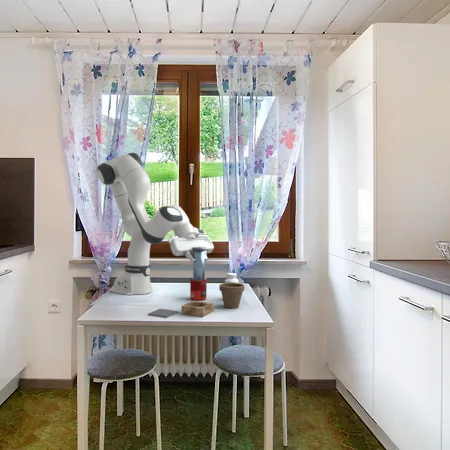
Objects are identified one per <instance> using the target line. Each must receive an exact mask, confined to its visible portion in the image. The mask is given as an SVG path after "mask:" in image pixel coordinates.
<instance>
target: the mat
mask: <svg viewBox="0 0 450 450" xmlns="http://www.w3.org/2000/svg"><path fill="white" fill-rule="evenodd" d="M178 313H179V310H172V309H167V308H166V309H165V308H158V309H156V310H153V311H151V312H149V313H148V314H147V315H148V316H153V317H158V316H159V318H168V319H169V318H170V317H171V316H173V315H175V314H176V315H177V314H178Z"/></svg>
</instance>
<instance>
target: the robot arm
mask: <svg viewBox="0 0 450 450" xmlns="http://www.w3.org/2000/svg"><path fill="white" fill-rule="evenodd" d="M96 173H97V174H96V175H97V177H98V179H99V181H100V182H101V183H102V184H103V185H105V186H109V187H110V189H111V193H112V195H113V198H114V200H115V202H116V204H117V207H118V210H119V212H120V217H121V221H122V225H123V231H124V232H125V233H126V234H127V235H128V236H129V237H131V239H130V242H129V247H128V249H127V264H126V265H123V266H122V267H123V269H125V270H124V271H123V273H122V274H120V275H119V276H117V277H116V278H115V279H114V283H113V287H110V288H109V289H108V291H109V292H112V293H116V294H121V295H125V296H131V295H145V294H150V293H152V292H153V288H152V283H151V277H150V276H151V264H150V262H151V261H150V251H151V245H159V244H160V243H162V242H163V240H164V239H165V237H166V236H167V235H168V234H169V233H170V232H171V231H173V234H174V236H173V235H172V236H169V237H168V238H167V241H168V243H169V247H170V250H171V252H172V255H173V256H176V257H181V256H185V257H186V258H187V259H188V260H189V261H190V262H191V263H193V262H195V261H196V259H195V257H193V249H192V247H206V250H205V262H206V261H208V256H207V254H210V253H211V254H212V252H213V250H214V249H215V246H214V244H213V242H212V240H211V238H210V237H209V236H208V235H207V232H206V230H204V229H200V228H197V227H195V226H193V224H191V222H190V219H189V217H188V214H186V212H185V211H184V210H183V208H182V207H181V206H180V205H178V204H171V205H169V206H165V205H163V206H161V207H160V208H159V209H158V210H157V211H156V212H155V213H154V214H153V216H152V217H151V218H150V216H149V215H148V212H147V210H146V208H145V207H146V206H145V202H146V198H147V195H148V192H149V190H150V188H151V179H150V176H149V174H148V173H147V172H146V170H145V169H144V167H143V162H142V159H141V157H140V156H139V154H138V153H136V152H128V153H127V154H123V155H119V156H116V157H114V158H112V159H109V160H108V161H106V162H102V163H101V164H98V165H97V168H96Z"/></svg>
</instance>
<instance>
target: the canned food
mask: <svg viewBox="0 0 450 450" xmlns="http://www.w3.org/2000/svg"><path fill="white" fill-rule="evenodd" d="M189 280H190V285H189V286H190V287H189V293H190V294H189V298H190V300H191V301H199V302H204V301H206V300H207V288H208V286H207V281H208V279H207V276H206V275H205V280H204V281H194V280H193V275H191V276H190V279H189Z"/></svg>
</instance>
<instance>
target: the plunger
mask: <svg viewBox="0 0 450 450" xmlns="http://www.w3.org/2000/svg"><path fill="white" fill-rule="evenodd" d="M192 249H193V254H192V256H193V257H195V259H196V261H195V262H192V266H193V267H192V276H193V280H194V281H204V280H205V276H206V261H205V250H206V247H192Z"/></svg>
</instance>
